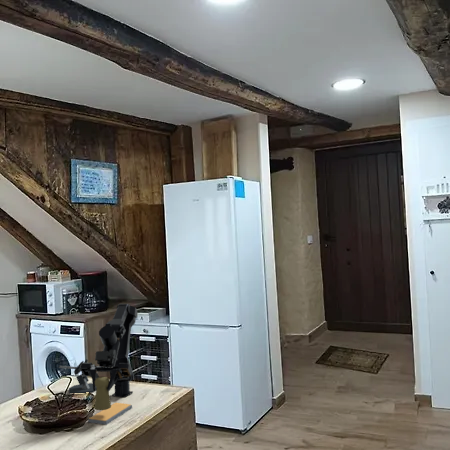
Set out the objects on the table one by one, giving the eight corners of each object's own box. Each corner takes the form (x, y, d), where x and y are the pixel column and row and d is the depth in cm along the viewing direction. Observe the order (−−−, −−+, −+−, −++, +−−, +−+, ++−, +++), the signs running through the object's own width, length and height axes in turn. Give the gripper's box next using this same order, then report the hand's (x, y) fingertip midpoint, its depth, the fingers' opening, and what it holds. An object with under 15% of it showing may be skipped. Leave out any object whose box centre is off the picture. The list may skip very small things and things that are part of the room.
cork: (93, 405, 191) (92, 376, 191) (109, 403, 193) (108, 374, 193) (95, 411, 185) (94, 381, 185) (112, 408, 188) (111, 378, 187)
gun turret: (66, 383, 234) (66, 355, 234) (105, 386, 228) (104, 357, 227) (49, 392, 222) (48, 362, 222) (88, 396, 216) (88, 365, 215)
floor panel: (114, 405, 203) (114, 402, 203) (132, 408, 200) (132, 404, 200) (88, 421, 187) (88, 418, 187) (106, 424, 184) (106, 420, 184)
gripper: (80, 341, 194) (69, 380, 183) (128, 341, 192) (120, 380, 181) (89, 356, 202) (78, 394, 191) (135, 356, 200) (127, 394, 189)
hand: (100, 390), depth 188 cm, fingers closed on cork, 5 cm apart
